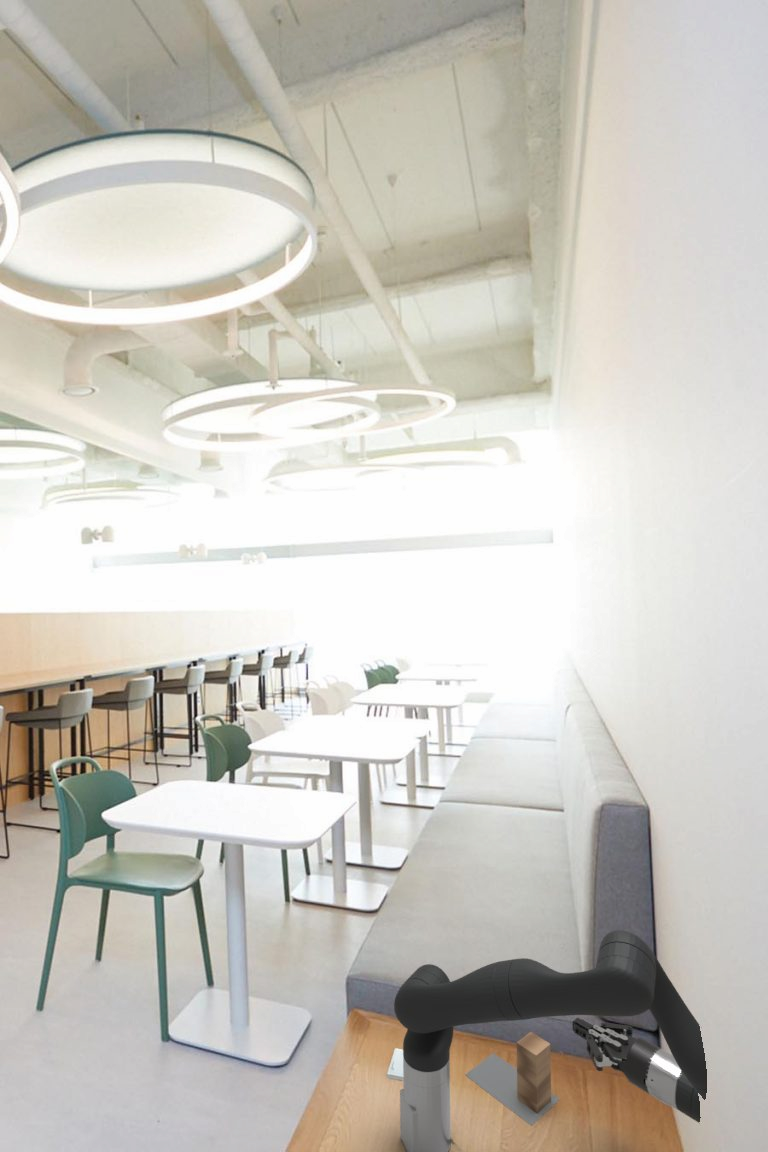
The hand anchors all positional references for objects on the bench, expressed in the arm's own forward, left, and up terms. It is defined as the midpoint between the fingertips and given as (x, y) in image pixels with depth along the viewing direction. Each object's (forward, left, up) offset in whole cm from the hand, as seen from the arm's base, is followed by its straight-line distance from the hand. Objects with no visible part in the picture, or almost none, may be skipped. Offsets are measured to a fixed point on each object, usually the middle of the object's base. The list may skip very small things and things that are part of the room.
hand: (574, 1023), depth 129 cm
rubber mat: (-6, +14, -22) cm, 27 cm away
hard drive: (-23, +27, -23) cm, 42 cm away
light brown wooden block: (-3, +9, -21) cm, 23 cm away
